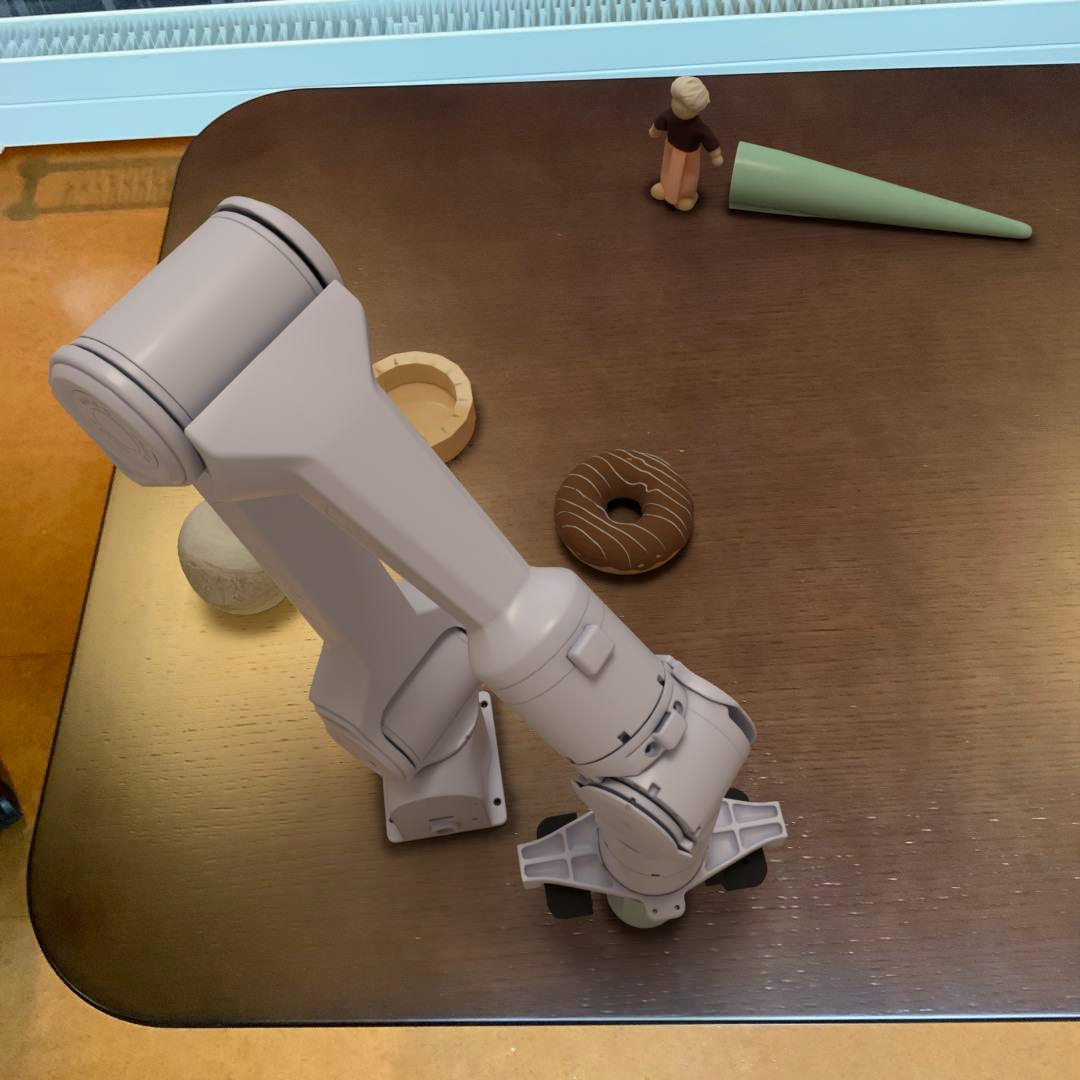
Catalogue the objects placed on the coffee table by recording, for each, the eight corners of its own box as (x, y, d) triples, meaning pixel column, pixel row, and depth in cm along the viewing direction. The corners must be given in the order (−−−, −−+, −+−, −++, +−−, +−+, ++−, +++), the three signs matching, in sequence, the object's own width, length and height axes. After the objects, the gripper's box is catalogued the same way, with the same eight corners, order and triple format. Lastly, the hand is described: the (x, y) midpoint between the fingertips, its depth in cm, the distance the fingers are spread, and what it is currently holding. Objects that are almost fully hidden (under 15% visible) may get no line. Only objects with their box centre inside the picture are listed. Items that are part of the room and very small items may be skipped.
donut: (583, 603, 78) (582, 578, 74) (535, 491, 83) (533, 463, 79) (715, 558, 79) (721, 531, 76) (660, 451, 84) (663, 421, 81)
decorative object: (206, 644, 78) (157, 581, 69) (202, 544, 82) (156, 473, 73) (325, 620, 78) (291, 555, 69) (314, 522, 82) (281, 449, 74)
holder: (482, 461, 84) (479, 440, 82) (359, 481, 84) (352, 459, 82) (468, 366, 90) (464, 343, 87) (351, 384, 89) (344, 361, 87)
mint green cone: (1051, 212, 88) (732, 168, 92) (1028, 260, 92) (725, 216, 97) (1052, 168, 90) (742, 127, 95) (1029, 217, 95) (735, 176, 99)
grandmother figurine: (633, 199, 99) (638, 80, 88) (650, 173, 100) (657, 54, 89) (709, 224, 97) (723, 105, 86) (725, 197, 98) (742, 78, 87)
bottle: (688, 921, 66) (701, 887, 57) (613, 934, 66) (615, 902, 57) (672, 845, 69) (682, 802, 60) (599, 857, 68) (599, 816, 60)
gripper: (524, 925, 51) (539, 967, 62) (819, 874, 51) (778, 925, 63) (505, 783, 54) (522, 848, 66) (780, 737, 55) (748, 810, 66)
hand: (645, 878), depth 65 cm, fingers open, 7 cm apart
